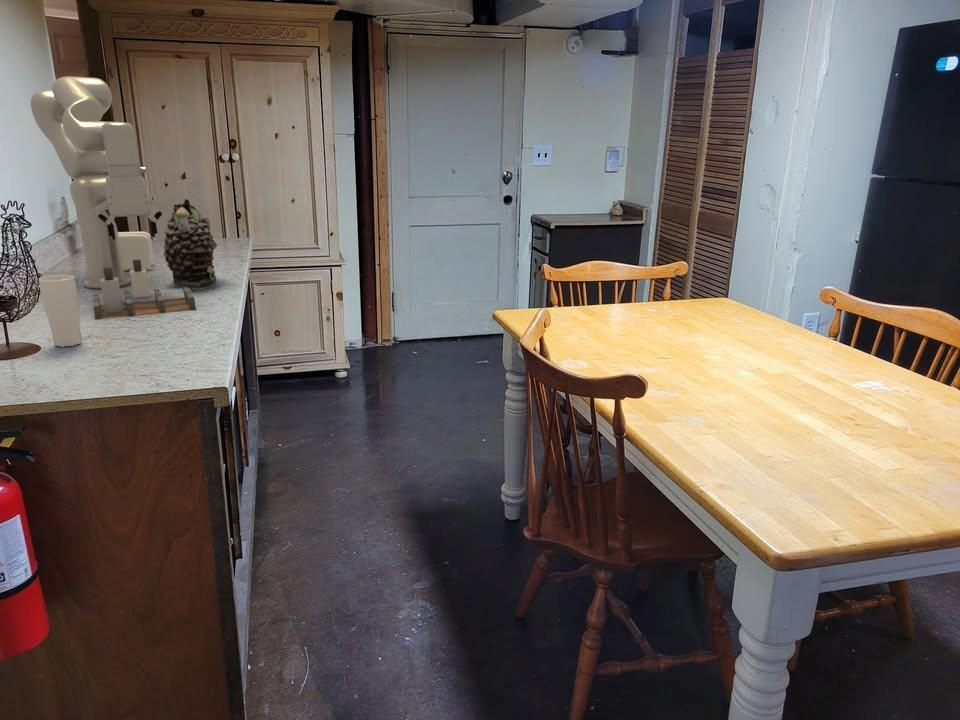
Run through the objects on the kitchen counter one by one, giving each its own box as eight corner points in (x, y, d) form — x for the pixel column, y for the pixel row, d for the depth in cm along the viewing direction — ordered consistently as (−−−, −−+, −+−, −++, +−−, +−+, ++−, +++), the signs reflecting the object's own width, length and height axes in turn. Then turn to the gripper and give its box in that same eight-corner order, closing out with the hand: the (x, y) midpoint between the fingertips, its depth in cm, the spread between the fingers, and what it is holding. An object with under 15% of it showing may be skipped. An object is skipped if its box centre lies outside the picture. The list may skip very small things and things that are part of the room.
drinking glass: (61, 351, 150) (48, 282, 145) (44, 345, 153) (31, 278, 148) (92, 343, 155) (81, 277, 150) (75, 338, 159) (63, 273, 154)
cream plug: (133, 298, 194) (128, 259, 191) (149, 297, 196) (144, 258, 193) (134, 301, 191) (128, 261, 187) (150, 300, 193) (145, 260, 189)
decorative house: (223, 290, 206) (214, 204, 198) (167, 293, 200) (156, 205, 192) (219, 276, 224) (210, 196, 216) (168, 279, 218) (157, 197, 210)
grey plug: (105, 309, 178) (98, 266, 175) (122, 307, 180) (116, 265, 176) (105, 313, 175) (98, 269, 171) (123, 311, 177) (116, 268, 173)
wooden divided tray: (95, 309, 182) (92, 294, 181) (189, 301, 192) (187, 286, 191) (96, 324, 170) (93, 307, 168) (196, 314, 180) (194, 298, 179)
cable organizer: (101, 272, 226) (96, 236, 222) (106, 266, 236) (101, 231, 232) (152, 270, 231) (147, 235, 227) (155, 264, 240) (150, 230, 236)
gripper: (159, 170, 189) (167, 234, 195) (86, 172, 182) (97, 238, 187) (161, 172, 183) (170, 237, 188) (86, 173, 175) (97, 241, 181)
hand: (134, 237), depth 188 cm, fingers open, 9 cm apart
